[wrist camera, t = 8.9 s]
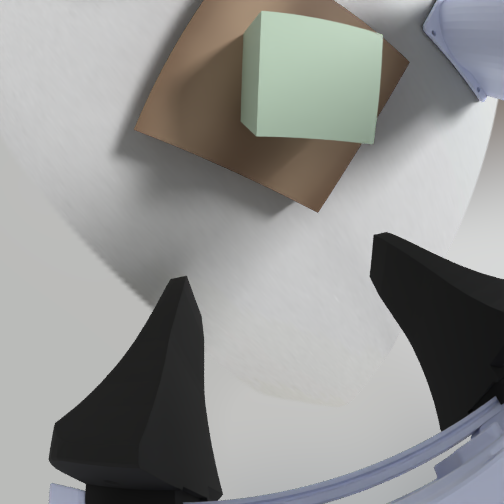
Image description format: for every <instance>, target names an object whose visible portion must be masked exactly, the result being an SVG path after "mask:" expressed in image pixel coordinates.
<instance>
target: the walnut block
mask: <svg viewBox="0 0 504 504" xmlns="http://www.w3.org/2000/svg"><path fill="white" fill-rule="evenodd" d="M261 11H270V12H279V13H287V14H295V15H301V16H308V17H313V18H319V19H324V20H329V21H333V22H338V23H342V24H346V25H350V26H354V27H358V28H362V29H365V30H369V31H372V32H375V33H377V32H376V31H374V30H373V29H372V28H371V27H369V26H368V25H367V24H366V23H364V22H363V21H362V20H360V19H359V18H358V17H356V16H355V15H354V14H352V13H351V12H350V11H348V10H347V9H345V8H344V7H343V6H341V5H340V4H338V3H337V2H335V1H334V0H204V1H203V2H202V4H201V5H200V7H199V8H198V10H197V11H196V13H195V14H194V16H193V17H192V19H191V20H190V22H189V23H188V25H187V27H186V28H185V30H184V32H183V33H182V35H181V36H180V38H179V40H178V42H177V43H176V45H175V47H174V48H173V50H172V52H171V54H170V56H169V57H168V59H167V61H166V63H165V65H164V67H163V69H162V70H161V72H160V74H159V76H158V78H157V80H156V82H155V84H154V86H153V88H152V90H151V92H150V94H149V97H148V99H147V101H146V103H145V105H144V107H143V110H142V112H141V114H140V116H139V119H138V121H137V123H136V126H135V128H134V130H136V131H139V132H141V133H144V134H146V135H149V136H151V137H154V138H156V139H159V140H161V141H164V142H166V143H169V144H171V145H174V146H176V147H179V148H181V149H183V150H186V151H188V152H190V153H193V154H195V155H197V156H200V157H202V158H204V159H207V160H209V161H211V162H214V163H216V164H218V165H220V166H223V167H225V168H227V169H229V170H231V171H234V172H236V173H238V174H240V175H242V176H244V177H247V178H249V179H251V180H253V181H255V182H257V183H259V184H261V185H263V186H266V187H268V188H270V189H272V190H274V191H276V192H278V193H280V194H282V195H284V196H286V197H288V198H290V199H292V200H294V201H296V202H298V203H300V204H302V205H304V206H306V207H308V208H310V209H312V210H314V211H316V212H317V213H318V212H319V210H320V209H321V207H322V206H323V204H324V203H325V201H326V200H327V198H328V196H329V195H330V193H331V192H332V190H333V189H334V187H335V185H336V184H337V182H338V181H339V179H340V178H341V176H342V174H343V173H344V171H345V170H346V168H347V166H348V165H349V163H350V162H351V160H352V158H353V157H354V155H355V154H356V152H357V150H358V149H359V147H360V146H361V144H362V143H356V142H346V141H336V140H324V139H310V138H292V137H260V136H255V135H254V134H253V133H252V132H251V131H250V130H249V129H248V128H247V127H246V126H245V125H244V124H243V123H242V122H241V89H242V59H243V34H244V32H245V31H246V30H247V28H248V27H249V26H250V24H251V23H252V22H253V21H254V19H255V18H256V17H257V16H258V14H259V13H260V12H261ZM409 63H410V62H409V61H408V60H407V59H406V58H405V57H404V56H403V55H402V54H401V53H400V52H398V51H397V50H396V49H395V48H394V47H393V46H392V45H391V44H390V43H388V42H387V41H386V40H385V39H384V38H383V43H382V65H381V79H380V92H379V102H378V112H377V117H378V116H379V114H380V112H381V111H382V109H383V107H384V106H385V104H386V102H387V101H388V99H389V97H390V96H391V94H392V92H393V90H394V89H395V87H396V85H397V84H398V82H399V80H400V78H401V77H402V75H403V73H404V71H405V70H406V68H407V66H408V64H409Z"/></svg>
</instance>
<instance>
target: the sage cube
mask: <svg viewBox="0 0 504 504" xmlns="http://www.w3.org/2000/svg"><path fill="white" fill-rule="evenodd" d="M382 43H383V35H382V34H379V33H375V32H372V31H369V30H365V29H362V28H358V27H354V26H350V25H346V24H342V23H338V22H333V21H329V20H324V19H319V18H313V17H308V16H301V15H295V14H287V13H279V12H270V11H261V12H260V13H259V14H258V16H257V17H256V18H255V19H254V21H253V22H252V23H251V24H250V26H249V27H248V28H247V30H246V31H245V32H244V34H243V59H242V89H241V122H242V123H243V124H244V125H245V126H246V127H247V128H248V129H249V130H250V131H251V132H252V133H253V134H254V135H255V136H260V137H292V138H310V139H324V140H336V141H346V142H356V143H364V144H372V145H373V144H374V136H375V129H376V121H377V112H378V102H379V92H380V79H381V65H382Z"/></svg>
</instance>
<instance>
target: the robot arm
mask: <svg viewBox="0 0 504 504" xmlns="http://www.w3.org/2000/svg"><path fill="white" fill-rule="evenodd" d="M423 30H424V32H425V33H426V34H427V35H428V36H429V37H430V38H431V40H432V41H433V42H434V43H435V44H436V45H437V46H438V47H439V48H440V50H441V51H442V52H443V53H444V54H445V55H446V57H447V58H448V59H449V60H450V61H451V63H452V64H453V65H454V66H455V68H456V69H457V70H458V71H459V73H460V74H461V75H462V77H463V78H464V79H465V81H466V82H467V83H468V85H469V86H470V88H471V89H472V90H473V92H474V93H475V95H476V96H477V98H478V99H479V100H480V101H482V102H484V101H485V100H486V98H487V96H490V97H494V98H497V99H501V100H504V0H437V1H436V3H435V4H434V6H433V8H432V10H431V12H430V13H429V15H428V17H427V19H426V21H425V22H424V24H423ZM432 32H433V34H432ZM370 278H371V280H372V282H373V284H374V286H375V288H376V290H377V292H378V294H379V296H380V297H381V299H382V300H383V302H384V303H385V305H386V306H387V308H388V309H389V311H390V312H391V314H392V315H393V317H394V318H395V320H396V321H397V323H398V324H399V326H400V327H401V329H402V330H403V332H404V333H405V335H406V336H407V338H408V340H409V342H410V343H411V345H412V347H413V349H414V351H415V353H416V356H417V358H418V360H419V362H420V365H421V367H422V369H423V372H424V374H425V377H426V379H427V382H428V385H429V388H430V391H431V394H432V397H433V400H434V404H435V408H436V411H437V416H438V419H439V425H440V429H441V431H442V432H440V433H438V434H437V435H435V436H433V437H431V438H429V439H427V440H425V441H424V442H422V443H420V444H418V445H416V446H414V447H412V448H410V449H408V450H406V451H404V452H401V453H399V454H397V455H395V456H392V457H390V458H388V459H385V460H383V461H381V462H378V463H376V464H373V465H371V466H368V467H366V468H363V469H361V470H358V471H355V472H352V473H349V474H346V475H343V476H340V477H337V478H333V479H330V480H327V481H323V482H320V483H316V484H313V485H309V486H305V487H301V488H297V489H292V490H288V491H283V492H278V493H273V494H267V495H262V496H255V497H248V498H240V499H232V500H223V501H222V500H221V501H218V499H220V497H221V496H222V495H223V493H222V489H221V485H220V481H219V477H218V473H217V469H216V464H215V459H214V454H213V450H212V445H211V439H210V433H209V427H208V421H207V413H206V407H205V395H204V334H203V325H202V317H201V314H200V311H199V308H198V306H197V303H196V300H195V297H194V295H193V292H192V289H191V286H190V284H189V281H188V278H187V276H183V277H179V278H174V279H171V280H170V281H169V283H168V285H167V286H166V288H165V290H164V292H163V294H162V296H161V297H160V299H159V301H158V303H157V305H156V307H155V308H154V310H153V312H152V314H151V315H150V317H149V319H148V321H147V322H146V324H145V326H144V327H143V329H142V330H141V332H140V333H139V335H138V337H137V338H136V340H135V342H134V343H133V344H132V346H131V347H130V348H129V350H128V351H127V352H126V354H125V355H124V356H123V358H122V359H121V360H120V362H119V363H118V364H117V365H116V367H115V368H114V369H113V370H112V371H111V372H110V373H109V374H108V375H107V377H106V378H105V379H104V380H103V381H102V382H101V383H100V384H99V385H98V386H97V388H95V389H94V391H92V393H90V394H89V395H88V396H87V397H86V398H85V399H84V400H83V401H82V402H81V403H80V404H79V405H77V406H76V407H75V408H74V409H73V410H71V411H70V412H69V413H67V414H66V415H65V416H64V417H62V418H61V419H60V420H59V421H57V422H56V423H55V425H54V430H53V436H52V441H51V447H50V454H49V461H50V463H51V464H52V465H53V466H54V467H55V468H56V469H58V470H60V471H61V472H63V473H65V474H67V475H69V476H71V477H73V478H75V479H77V480H79V481H81V482H83V483H85V484H86V491H83V490H80V489H76V488H72V487H67V486H63V485H59V484H54V483H51V484H50V492H49V504H324V503H328V502H331V501H334V500H337V499H341V498H344V497H347V496H350V495H352V494H356V493H358V492H361V491H364V490H366V489H369V488H372V487H374V486H377V485H379V484H382V483H384V482H386V481H389V480H391V479H393V478H395V477H398V476H400V475H402V474H404V473H406V472H408V471H410V470H412V469H414V468H416V467H418V466H420V465H422V464H424V463H426V462H428V461H429V460H431V459H433V458H435V457H437V456H438V455H440V454H442V453H443V452H445V451H447V450H449V449H450V448H452V447H453V446H455V445H456V444H458V443H460V442H461V441H463V440H464V439H466V438H467V437H469V436H470V435H472V436H471V440H470V441H469V442H467V443H466V444H465V445H463V446H461V447H460V448H459V449H457V450H456V451H455V452H454V453H453V454H451V455H450V456H449V457H447V458H446V459H444V460H443V461H442V462H440V463H438V464H437V465H435V467H434V469H435V471H436V474H437V479H435V480H434V481H432V482H430V483H428V484H427V485H424V486H423V487H421V488H419V489H417V490H415V491H413V492H411V493H409V494H407V495H405V496H403V497H401V498H398V499H396V500H394V501H392V502H389V503H387V504H504V279H500V278H496V277H493V276H489V275H486V274H482V273H479V272H476V271H474V270H471V269H468V268H466V267H463V266H460V265H458V264H456V263H453V262H451V261H449V260H447V259H444V258H442V257H440V256H438V255H436V254H434V253H431V252H429V251H427V250H425V249H423V248H421V247H419V246H417V245H415V244H413V243H411V242H409V241H407V240H405V239H402V238H400V237H398V236H396V235H393V234H391V233H388V232H385V233H380V234H376V235H374V238H373V249H372V260H371V269H370Z"/></svg>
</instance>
